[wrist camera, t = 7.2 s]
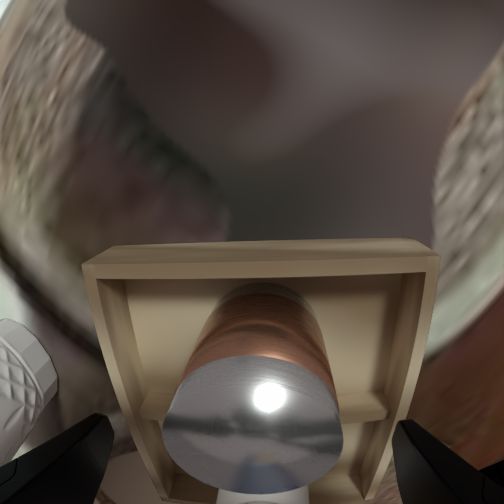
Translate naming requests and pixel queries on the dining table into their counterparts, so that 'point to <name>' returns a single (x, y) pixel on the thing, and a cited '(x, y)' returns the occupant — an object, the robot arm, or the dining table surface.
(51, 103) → the dining table surface
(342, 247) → the beige wooden tray
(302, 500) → the jar
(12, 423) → the white cup
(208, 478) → the can
